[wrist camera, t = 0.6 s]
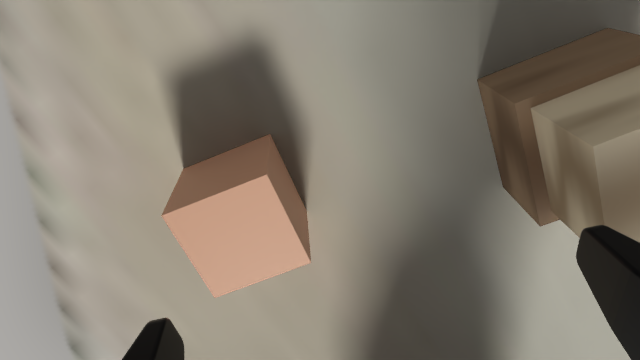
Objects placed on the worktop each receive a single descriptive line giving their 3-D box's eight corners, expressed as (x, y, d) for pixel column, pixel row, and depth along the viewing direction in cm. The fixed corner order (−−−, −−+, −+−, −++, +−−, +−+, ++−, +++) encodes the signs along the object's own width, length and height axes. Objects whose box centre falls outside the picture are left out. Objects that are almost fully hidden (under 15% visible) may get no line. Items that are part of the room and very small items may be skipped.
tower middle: (667, 168, 19) (754, 216, 16) (551, 211, 20) (610, 267, 16) (660, 56, 17) (759, 83, 14) (530, 108, 18) (593, 146, 14)
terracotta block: (306, 210, 24) (311, 262, 20) (226, 240, 24) (214, 298, 20) (270, 133, 22) (266, 174, 18) (183, 168, 22) (161, 215, 18)
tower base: (617, 142, 23) (678, 177, 20) (501, 185, 24) (540, 226, 20) (605, 27, 21) (672, 42, 17) (475, 78, 21) (514, 103, 18)
